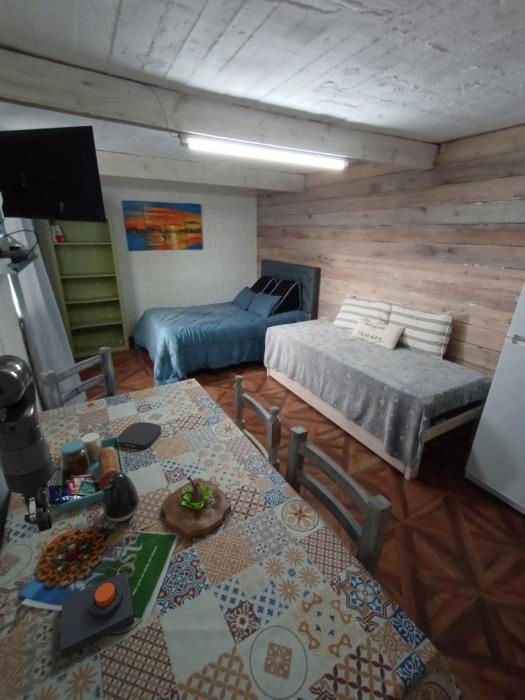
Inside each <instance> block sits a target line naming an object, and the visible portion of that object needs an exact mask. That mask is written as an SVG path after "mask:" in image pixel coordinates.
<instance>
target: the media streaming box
mask: <svg viewBox="0 0 525 700" xmlns="http://www.w3.org/2000/svg"><path fill="white" fill-rule="evenodd" d="M161 434H162V427H161V426H160V425H159V424H157V423H152V422H145V421H142V422H141V421H140V422H134V423H131V424H130V425H128V426H126V428H124V429H123V431H121V433H120V434H119V435H118V437H117V442H118V441H119V443H118V445H119V444H120V445H119V446H120V447H126V448H130V449H140V450H142V449H147V448H149V447H150V446H152V445H153V444H154V442H155V441H156V440H157V439H158V437H160V435H161Z"/></svg>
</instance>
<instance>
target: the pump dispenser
mask: <svg viewBox="0 0 525 700" xmlns="http://www.w3.org/2000/svg"><path fill="white" fill-rule="evenodd" d="M101 491H102V492H103V495H102V511H103V514H104V516H106V517H107V518H108V519H109V520H110V521H112V522H118V523H119V522H123V521H127V520H128V519H130V518H131V517H132V516H134V514H135V513H136V512H137V509H138V506H139V504H140V497H139V496H140V495H139V492H138V490H137V487H136V485H135V483H134V482H133V480H132V479H131V478H130V477H129V476H128V475H127V474H126V473H125V472H121V471H116V472H115V473H112V474H111V475H110V476H109V477H108V478H107V480H106V483H105V486H104V487H103V488H102V489H101Z"/></svg>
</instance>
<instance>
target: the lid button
mask: <svg viewBox="0 0 525 700" xmlns="http://www.w3.org/2000/svg"><path fill="white" fill-rule="evenodd" d="M114 598H115V589H114V586H113V584H111V583H105V584H103V585H101V586H100V587H99V588H98V589H97V591H96V593H95V600H96V604H97V606H98V607H106V606H108V605H109V604H111V603H112V601H113V600H114Z"/></svg>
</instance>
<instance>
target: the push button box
mask: <svg viewBox="0 0 525 700" xmlns="http://www.w3.org/2000/svg"><path fill="white" fill-rule="evenodd" d="M105 583H111V584H113V586H114V589H115V598H114V600H113V601H112V603H111V604H109V605H108V606H106V607H98V606H97V604H96V600H95V593H96V591H97V589H98V588H99V587H100V586H101V585H103V584H105ZM61 602H62V603H61V618H60V619H61V622H60V643H59V644H60V645H59V652H60V655H61V658H62V659H64V658H67V657H68V656H70V655H73V654H75V653H76V652H78V651H80V650H83V649H84V648H87V647H88V646H90V645H92V644H95V643H96V642H98V641H100V640H102V639H104V638H106V637H108V636H110V635H112V634H114V633H116V632H117V631H120V630H123V628H126V627H128V626H129V625H131V624H133V623H135V621H136V620H135V615H134V607H133V601H132V593H131V585H130V579H129V574H128V571H127V570H125V571H123V572H121V573H119V574H116V575H114V576H112V577H109V578H107V579H105V580H103V581H100V582H98V583H95V584H92V585H90V586H89V587H87V588H84V589H82V590H79V591H77V592H75V593H73V594H70V595H68V596H66V597H63V598H62V599H61Z"/></svg>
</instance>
